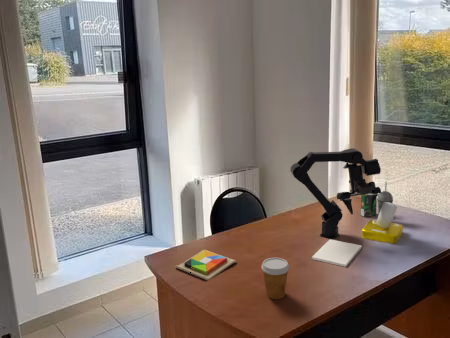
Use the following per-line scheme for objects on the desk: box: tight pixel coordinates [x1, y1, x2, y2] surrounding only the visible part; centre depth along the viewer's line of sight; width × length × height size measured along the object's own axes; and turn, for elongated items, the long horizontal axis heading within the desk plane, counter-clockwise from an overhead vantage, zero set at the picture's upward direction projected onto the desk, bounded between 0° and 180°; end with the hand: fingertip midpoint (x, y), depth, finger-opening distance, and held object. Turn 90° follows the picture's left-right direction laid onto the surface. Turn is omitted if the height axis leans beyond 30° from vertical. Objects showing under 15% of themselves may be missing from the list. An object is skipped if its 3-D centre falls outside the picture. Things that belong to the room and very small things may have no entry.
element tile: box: [361, 219, 404, 245], centre depth 200 cm, size 15×15×5 cm
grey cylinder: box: [376, 202, 398, 228], centre depth 197 cm, size 6×6×10 cm
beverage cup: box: [377, 181, 394, 215], centre depth 212 cm, size 7×7×20 cm
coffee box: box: [360, 194, 378, 218], centre depth 222 cm, size 8×3×13 cm, turn 112°
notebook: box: [311, 239, 362, 268], centre depth 184 cm, size 14×20×1 cm
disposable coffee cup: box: [261, 257, 290, 300], centre depth 154 cm, size 10×10×12 cm
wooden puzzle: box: [175, 249, 237, 281], centre depth 178 cm, size 18×19×4 cm
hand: (361, 212), depth 194 cm, fingers open, 9 cm apart
